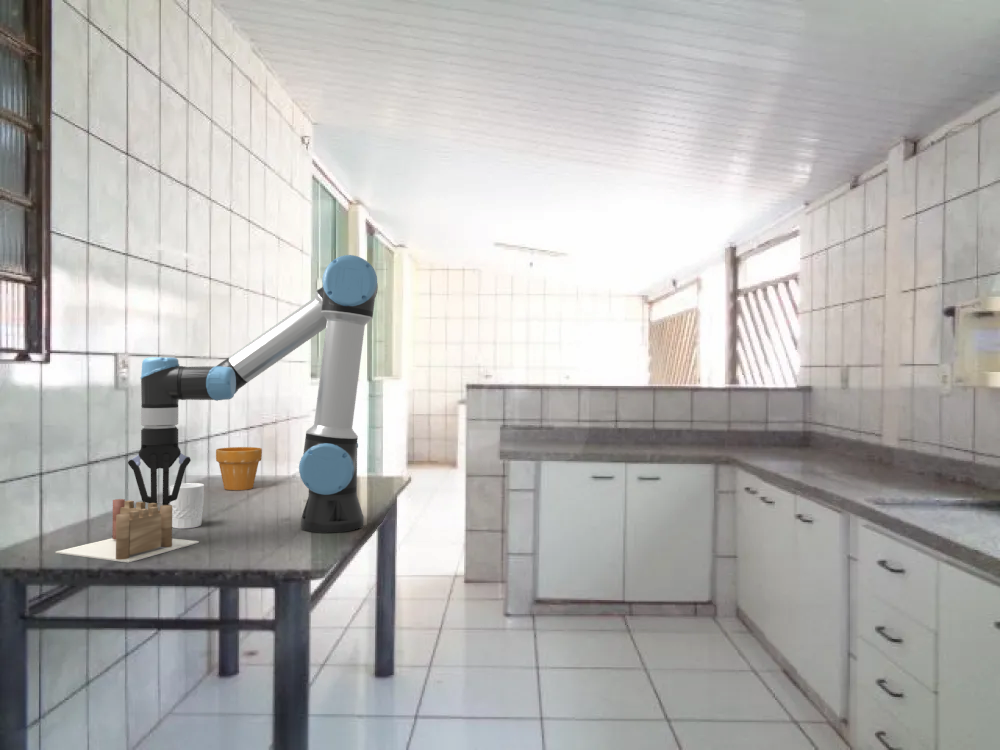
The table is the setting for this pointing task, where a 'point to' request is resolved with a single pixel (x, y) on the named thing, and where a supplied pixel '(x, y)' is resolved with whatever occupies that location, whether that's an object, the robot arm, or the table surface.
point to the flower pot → (238, 466)
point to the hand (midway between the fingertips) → (159, 532)
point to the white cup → (188, 506)
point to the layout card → (108, 550)
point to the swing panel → (126, 510)
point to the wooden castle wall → (143, 530)
